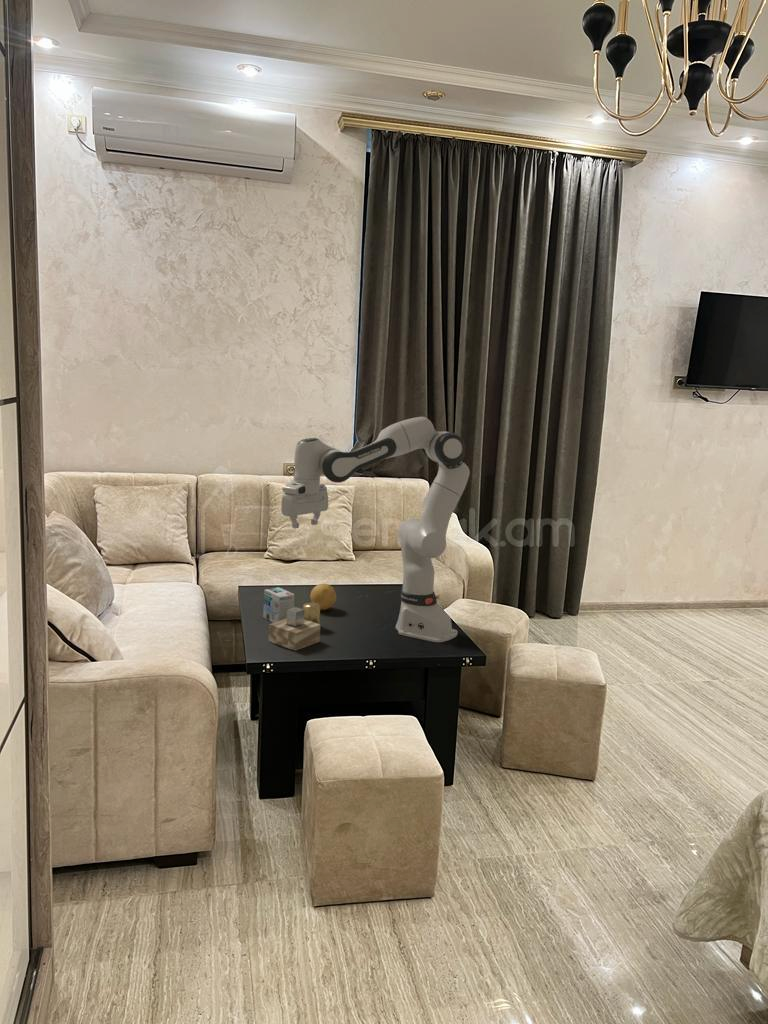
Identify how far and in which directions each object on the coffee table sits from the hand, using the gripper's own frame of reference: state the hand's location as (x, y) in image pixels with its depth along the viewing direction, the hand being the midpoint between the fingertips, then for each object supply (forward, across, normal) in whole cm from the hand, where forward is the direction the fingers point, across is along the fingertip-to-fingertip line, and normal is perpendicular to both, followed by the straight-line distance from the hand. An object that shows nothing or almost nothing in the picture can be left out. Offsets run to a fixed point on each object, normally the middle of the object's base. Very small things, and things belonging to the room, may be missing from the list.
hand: (305, 526), depth 259 cm
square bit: (+36, +10, +6) cm, 38 cm away
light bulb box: (+37, -2, -13) cm, 40 cm away
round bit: (+37, -5, 0) cm, 37 cm away
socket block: (+37, +10, +6) cm, 39 cm away
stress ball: (+37, -23, -10) cm, 45 cm away
